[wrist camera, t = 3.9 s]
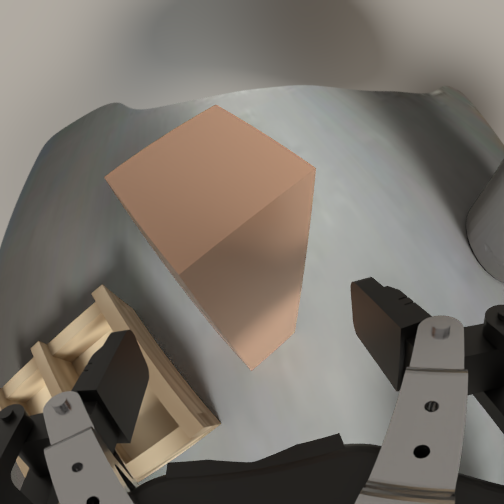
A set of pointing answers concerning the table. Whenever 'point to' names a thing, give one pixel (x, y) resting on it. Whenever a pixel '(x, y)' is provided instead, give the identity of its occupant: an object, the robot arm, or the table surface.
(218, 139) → the clay bar
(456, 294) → the table surface
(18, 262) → the table surface
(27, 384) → the rack
